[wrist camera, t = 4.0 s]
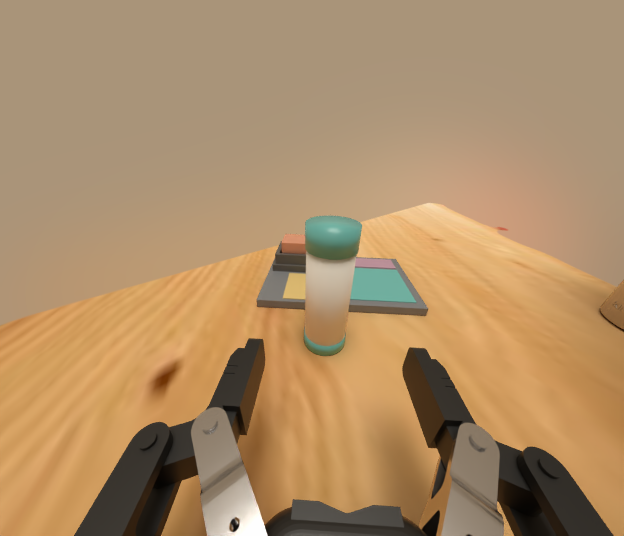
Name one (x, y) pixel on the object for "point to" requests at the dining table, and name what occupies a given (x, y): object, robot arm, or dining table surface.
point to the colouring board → (365, 288)
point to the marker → (329, 280)
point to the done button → (293, 244)
